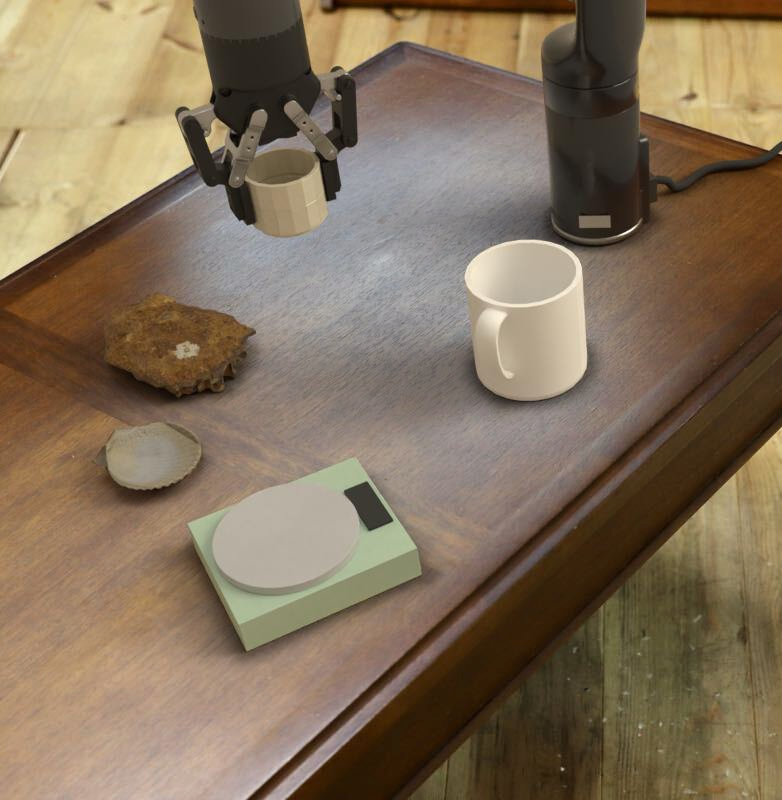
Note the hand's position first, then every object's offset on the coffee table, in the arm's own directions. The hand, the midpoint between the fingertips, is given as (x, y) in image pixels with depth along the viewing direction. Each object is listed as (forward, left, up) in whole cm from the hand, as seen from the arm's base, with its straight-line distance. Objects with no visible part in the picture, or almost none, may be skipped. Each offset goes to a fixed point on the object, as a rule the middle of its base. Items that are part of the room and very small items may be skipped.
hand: (288, 207), depth 112 cm
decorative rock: (+11, -11, -18) cm, 24 cm away
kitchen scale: (+10, +20, -18) cm, 29 cm away
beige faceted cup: (0, 0, -1) cm, 1 cm away
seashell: (+17, +3, -18) cm, 25 cm away
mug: (-15, +9, -18) cm, 26 cm away
